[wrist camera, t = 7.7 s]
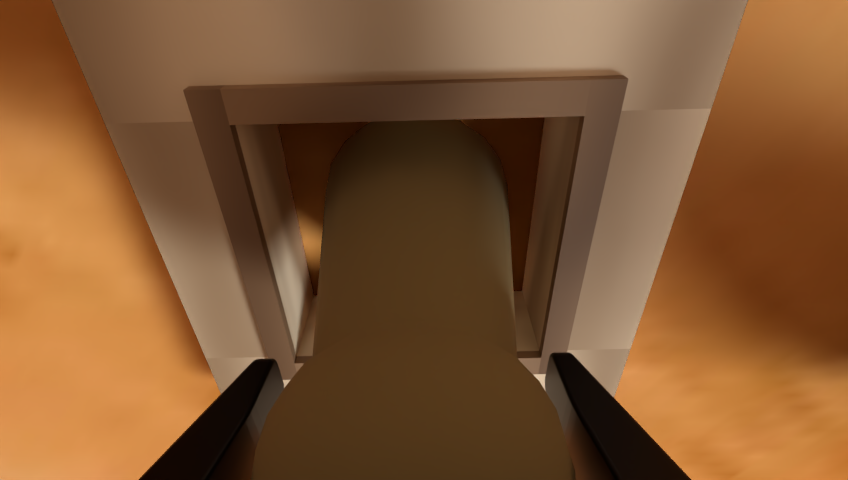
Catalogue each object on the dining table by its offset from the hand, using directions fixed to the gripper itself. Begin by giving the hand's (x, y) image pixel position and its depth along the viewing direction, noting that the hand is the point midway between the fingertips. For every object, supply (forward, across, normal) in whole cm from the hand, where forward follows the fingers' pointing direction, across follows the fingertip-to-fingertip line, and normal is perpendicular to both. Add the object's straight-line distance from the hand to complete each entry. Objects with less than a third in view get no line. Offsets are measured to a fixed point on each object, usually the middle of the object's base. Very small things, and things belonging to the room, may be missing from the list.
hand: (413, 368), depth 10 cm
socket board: (+7, 0, 0) cm, 7 cm away
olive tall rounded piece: (+7, 0, 0) cm, 7 cm away
